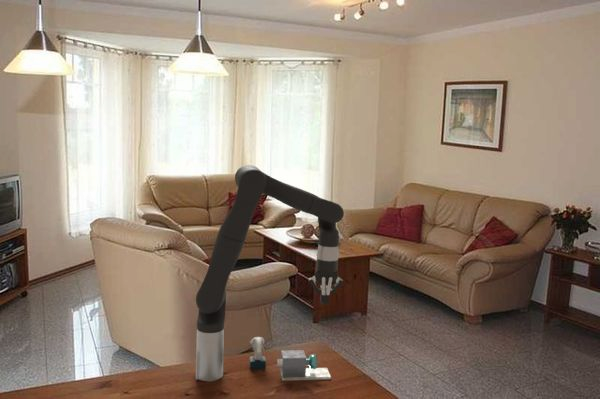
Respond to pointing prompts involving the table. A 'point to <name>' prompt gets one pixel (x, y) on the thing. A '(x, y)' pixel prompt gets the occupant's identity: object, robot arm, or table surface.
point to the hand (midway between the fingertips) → (324, 304)
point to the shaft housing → (300, 367)
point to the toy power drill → (257, 354)
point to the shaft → (309, 362)
